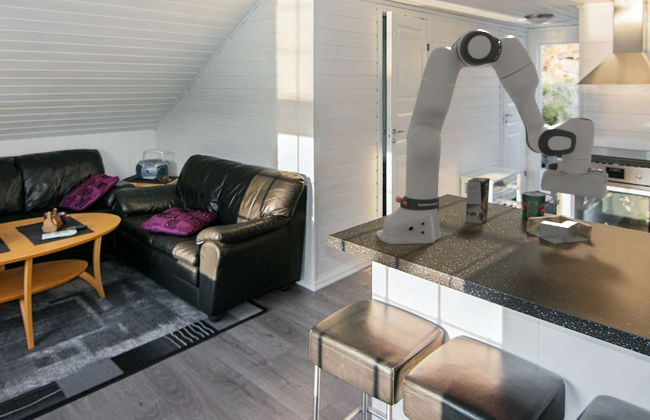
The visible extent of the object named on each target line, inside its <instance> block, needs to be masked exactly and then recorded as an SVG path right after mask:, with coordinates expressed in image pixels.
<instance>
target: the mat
mask: <svg viewBox="0 0 650 420" xmlns="http://www.w3.org/2000/svg"><path fill="white" fill-rule="evenodd" d="M539 231H540V230H538V231H529V232H528V233H529V234H531V235H534V236H535V237H537V238H540V239H542V240H545V241H546V242H549V243H552V244H553V245H554V244H555V245H556V244H565V243H573V242H574V243H576V242H586V241H587V242H588V241H589V240H588V239H585V238H583V237H580V236H578V235H577V236H576V237H575V238H573V239H571V240H569V241H568V242H562V241H557V240H552V239H547V238H541V237H539Z"/></svg>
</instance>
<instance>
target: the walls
mask: <svg viewBox="0 0 650 420" xmlns="http://www.w3.org/2000/svg"><path fill="white" fill-rule="evenodd" d="M543 221H548V222H554V223H560V224H561V223H563V222H565V221H573V222H578V226H577V235H578V236H580V237H583V238H585V239H588V240H587V241H591V237H592V229H593V225H591V224H589V223H585V222H583V221H579V220H577V219H574V218H571V217H569V216H565V215H562V214H560V215H558V214H557V215H548V216H545V215H544V217H533V218H528V220H527V223H526V232H527V233H529V231H538V230H540V223H541V222H543Z"/></svg>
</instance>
